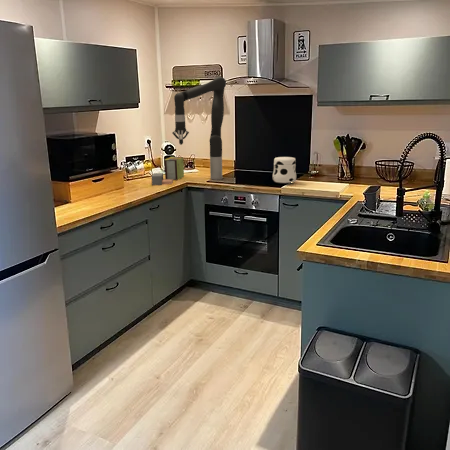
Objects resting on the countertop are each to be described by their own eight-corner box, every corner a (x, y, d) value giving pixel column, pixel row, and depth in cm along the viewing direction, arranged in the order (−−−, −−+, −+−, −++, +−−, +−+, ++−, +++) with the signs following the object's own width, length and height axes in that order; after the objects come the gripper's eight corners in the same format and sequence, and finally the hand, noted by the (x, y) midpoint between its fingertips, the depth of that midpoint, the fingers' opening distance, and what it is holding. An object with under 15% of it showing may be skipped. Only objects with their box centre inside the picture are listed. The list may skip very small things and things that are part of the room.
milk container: (301, 182, 331) (301, 158, 326) (285, 186, 320) (286, 161, 315) (282, 179, 344) (283, 155, 338) (267, 183, 332) (267, 158, 327)
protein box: (184, 176, 363) (183, 156, 358) (177, 180, 348) (176, 159, 344) (171, 175, 365) (171, 156, 361) (164, 179, 351) (163, 159, 346)
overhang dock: (163, 181, 343) (163, 173, 342) (161, 184, 332) (161, 176, 330) (154, 181, 343) (153, 173, 342) (152, 185, 332) (151, 176, 330)
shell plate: (173, 182, 342) (172, 179, 341) (171, 184, 334) (171, 181, 333) (155, 182, 342) (155, 179, 341) (153, 185, 334) (153, 181, 334)
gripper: (189, 120, 340) (190, 143, 345) (171, 120, 340) (173, 144, 345) (188, 121, 333) (189, 144, 338) (170, 121, 333) (171, 145, 338)
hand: (181, 144), depth 341 cm, fingers closed
